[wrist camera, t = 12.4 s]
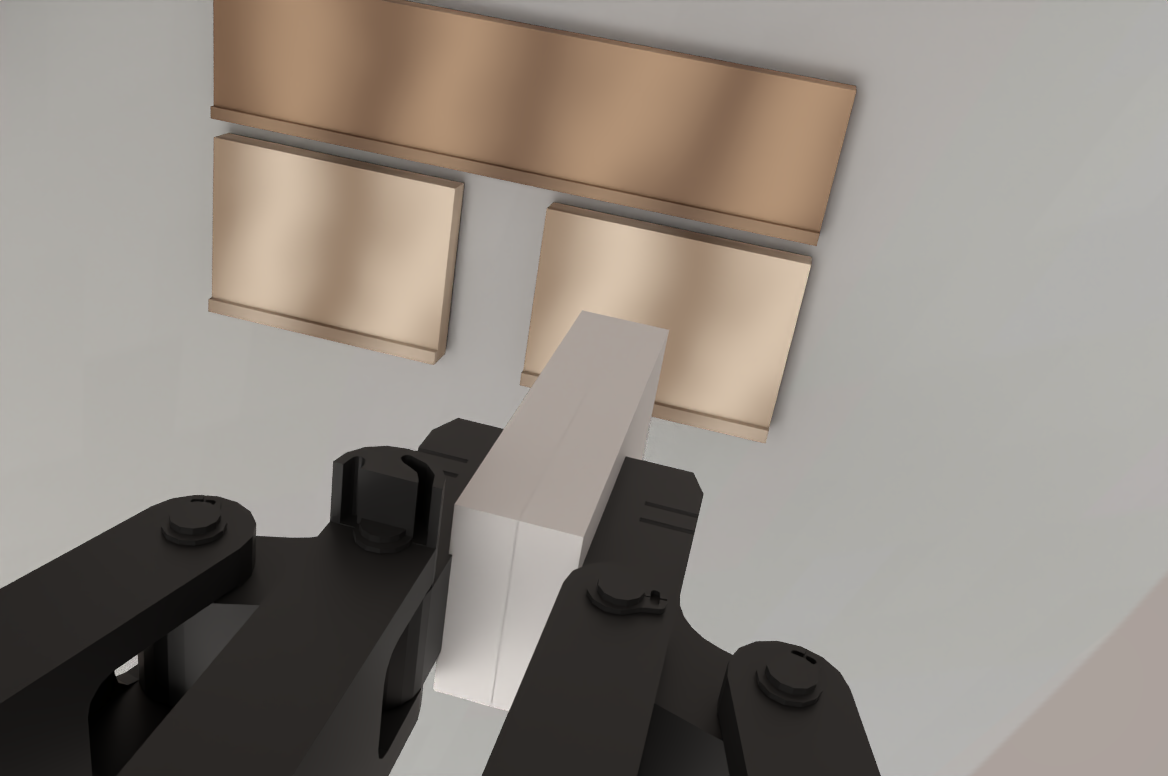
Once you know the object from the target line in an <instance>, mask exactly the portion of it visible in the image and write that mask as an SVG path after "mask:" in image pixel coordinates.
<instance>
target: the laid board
mask: <svg viewBox="0 0 1168 776" xmlns="http://www.w3.org/2000/svg"><path fill="white" fill-rule="evenodd" d="M213 7H214V106H211V118H212V119H217V120H221V121H226V122H231V123H236V124H240V125H245V126H250V127H255V128H259V129H264V130H269V131H274V132H278V133H283V134H288V135H293V136H297V137H302V138H307V139H311V140H316V141H321V142H326V143H330V144H335V145H340V146H345V147H349V148H354V149H359V150H364V151H368V152H373V153H378V154H383V155H387V156H392V157H397V158H402V159H406V160H411V161H416V162H421V163H425V164H430V165H435V166H439V167H444V168H449V169H454V170H458V171H463V172H468V173H473V174H477V175H482V176H487V177H492V178H496V179H501V180H506V181H511V182H515V183H520V184H525V185H530V186H534V187H539V188H544V189H549V190H553V191H558V192H563V193H567V194H572V195H577V196H582V197H586V198H591V199H596V200H601V201H605V202H610V203H615V204H620V205H624V206H629V207H634V208H639V209H643V210H648V211H653V212H658V213H662V214H667V215H672V216H677V217H681V218H686V219H691V220H695V221H700V222H705V223H710V224H714V225H719V226H724V227H729V228H733V229H738V230H743V231H748V232H752V233H757V234H762V235H767V236H771V237H776V238H781V239H786V240H790V241H795V242H800V243H805V244H809V245H814V246H817V242H818V238H819V234H820V229H821V225H822V221H823V218H824V214H825V210H826V206H827V202H828V198H829V195H830V191H831V187H832V183H833V179H834V175H835V171H836V168H837V164H838V160H839V156H840V152H841V148H842V145H843V141H844V137H845V133H846V129H847V125H848V122H849V118H850V114H851V110H852V106H853V102H854V98H855V95H856V86H853V85H848V84H843V83H838V82H832V81H827V80H822V79H816V78H811V77H806V76H801V75H795V74H790V73H785V72H780V71H774V70H769V69H764V68H758V67H753V66H748V65H743V64H737V63H732V62H727V61H721V60H716V59H711V58H706V57H700V56H695V55H690V54H685V53H679V52H674V51H669V50H663V49H658V48H653V47H648V46H642V45H637V44H632V43H627V42H621V41H616V40H611V39H605V38H600V37H595V36H590V35H584V34H579V33H574V32H568V31H563V30H558V29H553V28H547V27H542V26H537V25H532V24H526V23H521V22H516V21H510V20H505V19H500V18H495V17H489V16H484V15H479V14H474V13H468V12H463V11H458V10H452V9H447V8H442V7H437V6H431V5H426V4H421V3H415V2H410V1H405V0H213Z"/></svg>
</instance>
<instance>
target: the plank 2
mask: <svg viewBox="0 0 1168 776" xmlns="http://www.w3.org/2000/svg"><path fill="white" fill-rule="evenodd" d="M811 259H812V257H809V256H804V255H800V254H795V253H790V252H786V251H781V250H776V249H771V248H767V247H762V246H757V245H753V244H748V243H743V242H739V241H734V240H729V239H724V238H720V237H715V236H710V235H706V234H701V233H696V232H691V231H687V230H682V229H677V228H673V227H668V226H663V225H659V224H654V223H649V222H644V221H640V220H635V219H630V218H626V217H621V216H616V215H611V214H607V213H602V212H597V211H593V210H588V209H583V208H579V207H574V206H569V205H564V204H560V203H555V202H553V203H552V204H551V205H550V206H549V207H548V208H547V211H546V218H545V225H544V231H543V238H542V245H541V252H540V259H539V266H538V273H537V280H536V287H535V294H534V300H533V307H532V314H531V321H530V328H529V335H528V342H527V349H526V356H525V363H524V369H523V372H522V373H521V380H520V385H521V386H526V387H530V388H531V387H532V386H533V384H534V383H535V381H536V380H537V378H538V377H539V375H540V374H541V372H542V371H543V369H544V368H545V366H546V364H547V363H548V361H549V360H550V358H551V357H552V355H553V354H554V352H555V351H556V349H557V348H558V346H559V345H560V343H561V342H562V340H563V339H564V337H565V336H566V334H567V333H568V331H569V330H570V328H571V326H572V325H573V323H574V322H575V320H576V319H577V317H578V316H579V314H580V313H581V311H582V310H583V311H588V312H592V313H597V314H601V315H605V316H610V317H614V318H619V319H623V320H628V321H632V322H636V323H641V324H645V325H650V326H654V327H658V328H663V329H667V330H669V333H668V338H667V343H666V347H665V352H664V357H663V362H662V367H661V372H660V377H659V382H658V387H657V392H656V397H655V402H654V406H653V411H652V417H656V418H660V419H664V420H669V421H673V422H677V423H681V424H685V425H690V426H694V427H698V428H702V429H707V430H711V431H715V432H719V433H723V434H728V435H732V436H736V437H740V438H744V439H749V440H753V441H757V442H761V443H766V439H767V435H768V431H769V426H770V422H771V418H772V414H773V410H774V406H775V403H776V399H777V395H778V391H779V387H780V383H781V379H782V376H783V372H784V368H785V364H786V360H787V356H788V352H789V349H790V345H791V341H792V337H793V333H794V329H795V325H796V322H797V318H798V314H799V310H800V306H801V302H802V298H803V295H804V291H805V287H806V283H807V279H808V275H809V271H810V268H811Z"/></svg>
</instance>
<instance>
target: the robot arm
mask: <svg viewBox="0 0 1168 776" xmlns="http://www.w3.org/2000/svg"><path fill="white" fill-rule="evenodd" d="M668 333H669V330H667V329H663V328H658V327H654V326H650V325H645V324H641V323H636V322H632V321H628V320H623V319H619V318H614V317H610V316H605V315H601V314H597V313H592V312H588V311H583V310H582V311H581V313H580V314H579V316H578V317H577V319H576V320H575V322H574V323H573V325H572V326H571V328H570V330H569V331H568V333H567V334H566V336H565V337H564V339H563V340H562V342H561V343H560V345H559V346H558V348H557V349H556V351H555V352H554V354H553V355H552V357H551V358H550V360H549V361H548V363H547V364H546V366H545V368H544V369H543V371H542V372H541V374H540V375H539V377H538V378H537V380H536V381H535V383H534V384H533V386H532V387H531V389H530V390H529V392H528V393H527V395H526V396H525V398H524V399H523V401H522V402H521V404H520V406H519V407H518V409H517V410H516V412H515V413H514V415H513V416H512V418H511V419H510V421H509V422H508V424H507V425H506V427H505V428H504V429H501V428H497V427H493V426H489V425H485V424H481V423H477V422H472V421H468V420H464V419H460V418H457V419H455V420H453V421H451V422H448V423H446V424H444V425H442V426H440V427H438V428H436V429H433V430H432V431H431V432H430V434H429V435H428V436H427V437H426V439H425V440H424V441H423V442H422V444H421V445H420V446H419V448H418V451H413V450H410V449H405V448H398V447H391V446H377V447H364V448H361V449H357V450H354V451H350V452H347V453H345V454H344V455H342V456H341V457H339V458H338V459H336V460H335V461H333V478H332V496H331V514H330V522H329V523H328V525H327V526H326V527H325V528H324V529H323V531H322V532H321V533H320V534H319V535H318V537H311V538H286V537H266V536H256V522H255V520H254V518H253V516H252V514H251V512H250V511H249V510H248V509H246V508H245V507H243V506H242V505H240V504H239V503H237V502H235V501H231V500H228V499H224V498H221V497H218V496H204V495H193V496H186V497H179V498H172V499H169V500H167V501H164V502H162V503H159V504H156V505H154V506H151V507H149V508H148V509H146V510H144V511H142V512H140V513H138V514H137V515H135V516H133V517H131V518H129V519H127V520H126V521H124V522H122V523H120V524H118V525H116V526H115V527H113V528H111V529H109V530H107V531H105V532H104V533H102V534H100V535H98V536H96V537H94V538H93V539H91V540H89V541H87V542H85V543H83V544H82V545H80V546H78V547H76V548H74V549H73V550H71V551H69V552H67V553H65V554H63V555H62V556H60V557H58V558H56V559H54V560H52V561H51V562H49V563H47V564H45V565H43V566H41V567H40V568H38V569H36V570H34V571H32V572H30V573H29V574H27V575H25V576H23V577H21V578H19V579H18V580H16V581H14V582H12V583H10V584H8V585H7V586H5V587H3V588H1V589H0V776H389V774H390V772H391V770H392V768H393V766H394V764H395V762H396V760H397V758H398V756H399V755H400V753H401V751H402V749H403V747H404V745H405V743H406V741H407V739H408V737H409V735H410V733H411V732H412V730H413V728H414V726H415V724H416V722H417V720H418V716H419V712H420V707H421V700H422V691H423V683H424V682H425V680H426V678H427V676H428V674H429V672H430V670H431V669H432V667H433V665H434V663H435V661H436V659H437V661H436V669H435V678H434V687H433V690H434V691H437V692H441V693H445V694H448V695H452V696H455V697H459V698H462V699H466V700H469V701H473V702H476V703H480V704H484V705H487V706H491V707H494V708H498V709H501V710H505V711H508V715H507V717H506V719H505V722H504V724H503V727H502V729H501V731H500V734H499V736H498V738H497V741H496V743H495V746H494V748H493V750H492V753H491V755H490V757H489V760H488V762H487V765H486V767H485V769H484V772H483V774H482V776H881V775H880V772H879V770H878V767H877V764H876V761H875V758H874V755H873V753H872V750H871V747H870V744H869V741H868V738H867V735H866V733H865V730H864V727H863V724H862V721H861V718H860V716H859V713H858V710H857V707H856V704H855V701H854V699H853V696H852V693H851V690H850V688H849V686H848V685H847V683H846V681H845V680H844V678H843V676H842V675H841V673H840V672H839V671H838V670H837V669H836V668H834V667H833V666H832V665H831V664H830V663H829V662H827V661H826V660H825V659H824V658H823V657H821V656H819V655H817V654H815V653H813V652H811V651H809V650H807V649H805V648H803V647H801V646H796V645H792V644H788V643H784V642H780V641H758V642H754V643H751V644H748V645H746V646H743V647H741V648H739V649H738V650H737V651H736V652H735V653H734V655H732V654H730V653H728V652H726V651H724V650H722V649H720V648H718V647H717V646H715V645H713V644H712V643H710V642H709V641H707V640H705V639H704V638H703V637H702V636H700V635H699V634H698V633H697V632H696V631H695V630H694V629H693V628H692V627H691V626H690V624H689V623H688V622H687V620H686V619H685V617H684V616H683V613H682V610H681V607H680V592H681V588H682V584H683V580H684V575H685V571H686V567H687V562H688V558H689V554H690V550H691V545H692V541H693V537H694V532H695V528H696V524H697V520H698V515H699V511H700V507H701V503H702V498H703V492H702V490H701V488H700V486H699V484H698V482H697V479H696V477H695V475H694V473H692V472H688V471H684V470H680V469H676V468H672V467H668V466H663V465H659V464H655V463H651V462H647V461H643V456H644V451H645V446H646V441H647V436H648V431H649V426H650V421H651V416H652V411H653V406H654V402H655V397H656V392H657V387H658V382H659V377H660V372H661V367H662V362H663V357H664V352H665V347H666V343H667V338H668ZM137 654H138V664H137V665H136V666H134V667H133V668H132V669H130V670H129V671H127V672H125V673H123V674H121V675H119V676H115V672H114V670H116V669H117V668H118V667H120V666H121V665H123V664H124V663H126V662H127V661H129V660H130V659H132V658H133V657H134V656H136V655H137Z"/></svg>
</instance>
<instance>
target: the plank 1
mask: <svg viewBox="0 0 1168 776" xmlns="http://www.w3.org/2000/svg"><path fill="white" fill-rule="evenodd" d="M463 189H464V183H461V182H456V181H452V180H447V179H442V178H437V177H433V176H428V175H423V174H419V173H414V172H409V171H404V170H400V169H395V168H390V167H386V166H381V165H376V164H371V163H367V162H362V161H357V160H353V159H348V158H343V157H339V156H334V155H329V154H324V153H320V152H315V151H310V150H306V149H301V148H296V147H291V146H287V145H282V144H277V143H273V142H268V141H263V140H259V139H254V138H249V137H244V136H240V135H235V134H230V133H227V134H223V135H220V136H217V137H214V169H213V256H212V298H210V299H209V303H208V311H209V312H213V313H217V314H222V315H226V316H230V317H234V318H238V319H243V320H247V321H251V322H255V323H259V324H264V325H268V326H272V327H276V328H281V329H285V330H289V331H293V332H297V333H302V334H306V335H310V336H314V337H318V338H323V339H327V340H331V341H335V342H339V343H344V344H348V345H352V346H356V347H360V348H365V349H369V350H373V351H377V352H381V353H386V354H390V355H394V356H398V357H402V358H407V359H411V360H415V361H419V362H424V363H428V364H432V365H434V364H435V363H436V362H437V361H438V360H439V359H440V358H441V357H442V356H443V355H444V354H445V350H446V341H447V332H448V323H449V314H450V305H451V296H452V287H453V278H454V270H455V261H456V252H457V243H458V234H459V225H460V216H461V207H462V198H463Z"/></svg>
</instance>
